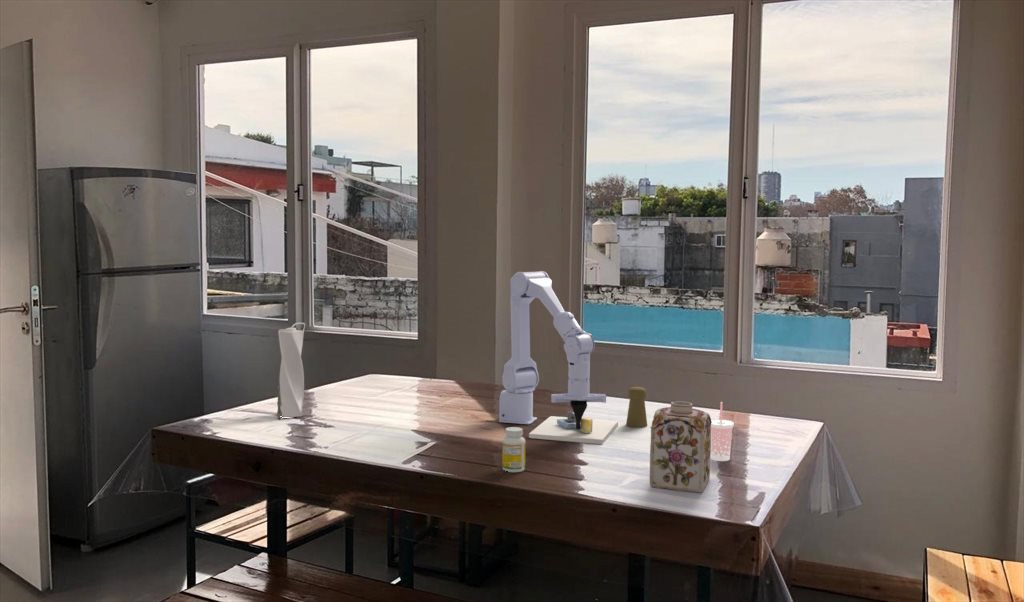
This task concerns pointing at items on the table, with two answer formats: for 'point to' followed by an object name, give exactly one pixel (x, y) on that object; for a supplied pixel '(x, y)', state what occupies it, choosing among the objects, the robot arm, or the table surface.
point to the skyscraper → (291, 373)
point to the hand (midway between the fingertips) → (578, 428)
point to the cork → (637, 408)
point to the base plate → (574, 431)
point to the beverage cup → (721, 438)
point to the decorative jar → (680, 448)
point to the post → (571, 417)
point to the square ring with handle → (584, 424)
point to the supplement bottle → (513, 450)
